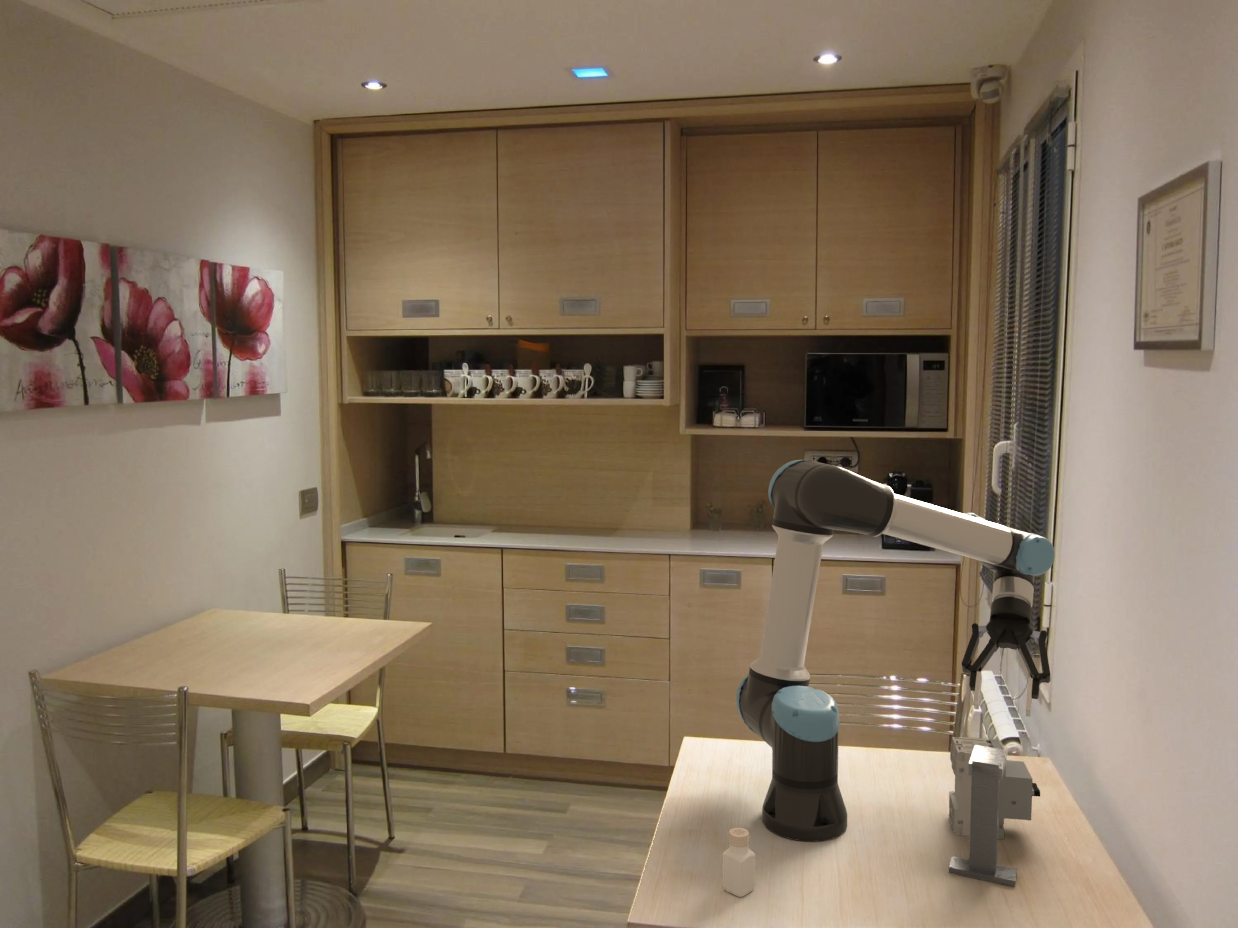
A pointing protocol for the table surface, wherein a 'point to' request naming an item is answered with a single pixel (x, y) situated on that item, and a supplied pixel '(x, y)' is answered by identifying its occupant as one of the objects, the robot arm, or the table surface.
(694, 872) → the table surface
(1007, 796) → the circuit breaker
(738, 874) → the pepper shaker
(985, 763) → the bracket
